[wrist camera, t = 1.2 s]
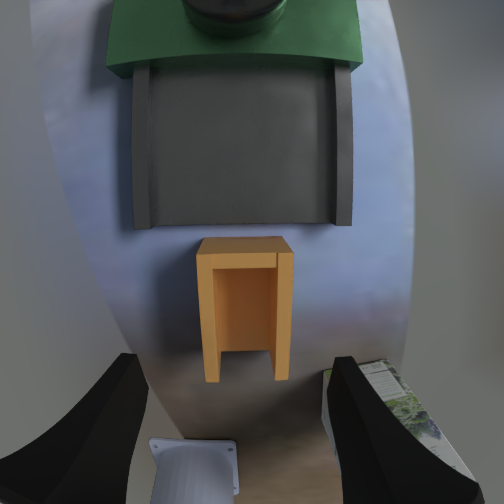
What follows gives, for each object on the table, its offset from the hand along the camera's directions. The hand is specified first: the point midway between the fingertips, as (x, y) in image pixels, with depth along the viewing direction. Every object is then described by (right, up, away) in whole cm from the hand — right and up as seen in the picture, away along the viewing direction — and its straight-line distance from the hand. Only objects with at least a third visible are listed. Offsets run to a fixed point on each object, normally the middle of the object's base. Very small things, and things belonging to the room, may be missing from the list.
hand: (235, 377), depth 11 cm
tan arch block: (0, +2, +11) cm, 11 cm away
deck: (-1, +15, +7) cm, 17 cm away
